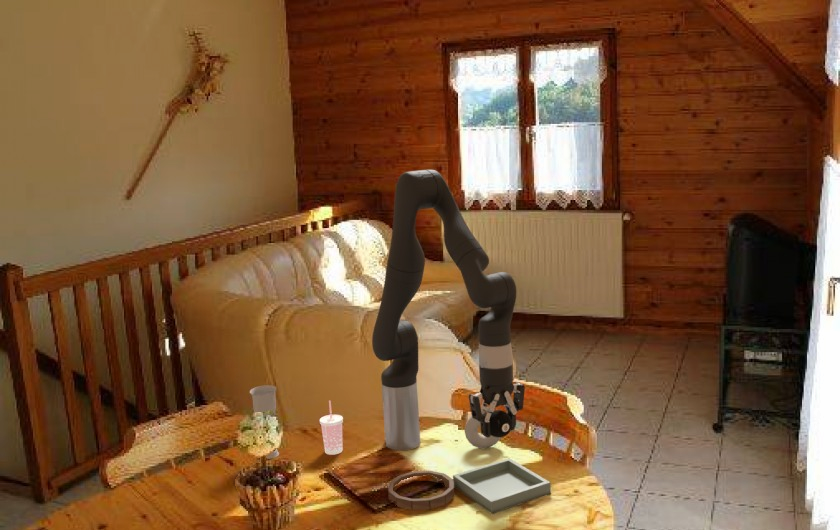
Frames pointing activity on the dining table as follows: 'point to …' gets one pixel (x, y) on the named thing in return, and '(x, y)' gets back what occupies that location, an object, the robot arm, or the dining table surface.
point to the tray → (501, 485)
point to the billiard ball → (500, 423)
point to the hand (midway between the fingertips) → (498, 432)
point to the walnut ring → (423, 502)
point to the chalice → (264, 404)
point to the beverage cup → (332, 432)
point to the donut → (478, 435)
